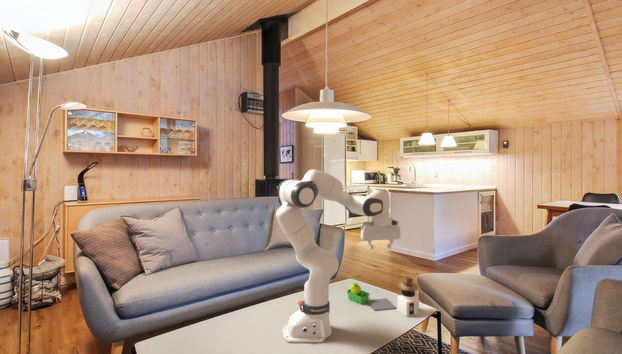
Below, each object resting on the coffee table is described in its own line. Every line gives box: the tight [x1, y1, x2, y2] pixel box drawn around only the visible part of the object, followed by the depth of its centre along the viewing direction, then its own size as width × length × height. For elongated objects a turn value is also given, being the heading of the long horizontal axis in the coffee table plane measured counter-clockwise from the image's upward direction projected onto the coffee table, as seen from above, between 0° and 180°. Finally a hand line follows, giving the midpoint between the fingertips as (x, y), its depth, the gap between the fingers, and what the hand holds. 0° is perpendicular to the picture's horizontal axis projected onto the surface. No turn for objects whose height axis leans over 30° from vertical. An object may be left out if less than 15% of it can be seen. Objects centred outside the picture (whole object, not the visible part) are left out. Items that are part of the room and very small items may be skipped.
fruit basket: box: [346, 282, 370, 306], centre depth 182 cm, size 11×9×11 cm
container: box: [396, 290, 420, 318], centre depth 168 cm, size 8×8×13 cm
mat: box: [366, 297, 397, 312], centre depth 177 cm, size 12×12×1 cm
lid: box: [397, 276, 419, 292], centre depth 168 cm, size 10×10×5 cm
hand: (380, 248), depth 165 cm, fingers open, 8 cm apart
